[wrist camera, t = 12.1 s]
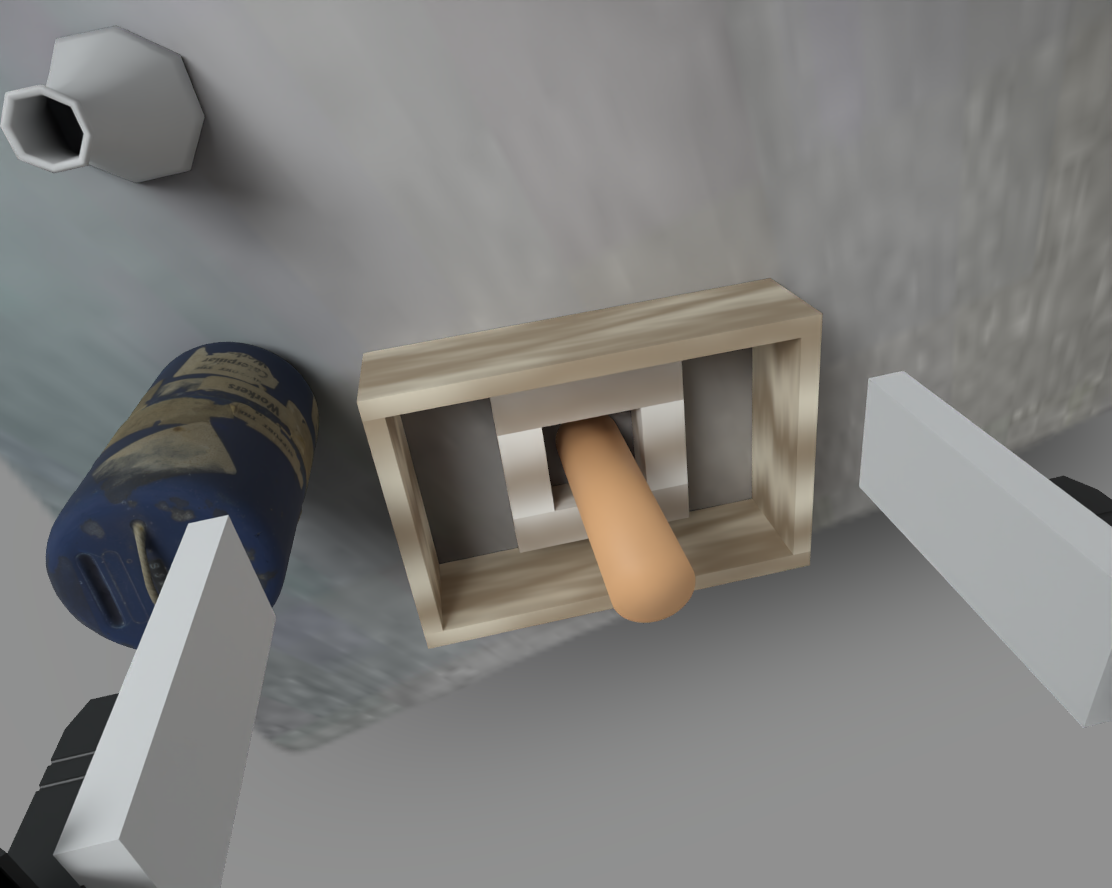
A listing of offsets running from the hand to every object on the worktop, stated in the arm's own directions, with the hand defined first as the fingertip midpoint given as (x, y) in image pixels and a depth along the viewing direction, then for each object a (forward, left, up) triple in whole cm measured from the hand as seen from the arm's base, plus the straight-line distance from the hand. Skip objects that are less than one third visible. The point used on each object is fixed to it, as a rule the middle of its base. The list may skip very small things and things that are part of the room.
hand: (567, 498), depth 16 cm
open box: (+17, +5, -31) cm, 36 cm away
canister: (+10, -16, -32) cm, 37 cm away
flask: (-7, -16, -32) cm, 36 cm away
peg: (+17, +5, -31) cm, 36 cm away
